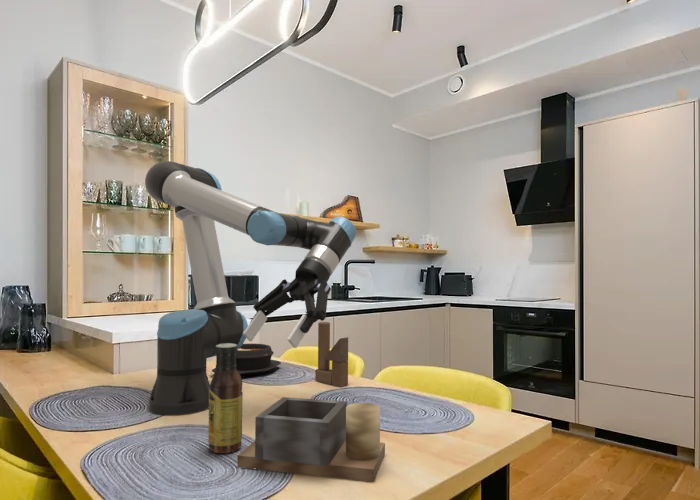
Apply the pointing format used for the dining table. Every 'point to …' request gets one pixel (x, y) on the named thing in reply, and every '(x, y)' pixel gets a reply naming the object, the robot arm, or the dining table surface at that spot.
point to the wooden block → (331, 358)
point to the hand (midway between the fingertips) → (268, 340)
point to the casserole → (254, 359)
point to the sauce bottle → (225, 402)
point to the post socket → (317, 439)
